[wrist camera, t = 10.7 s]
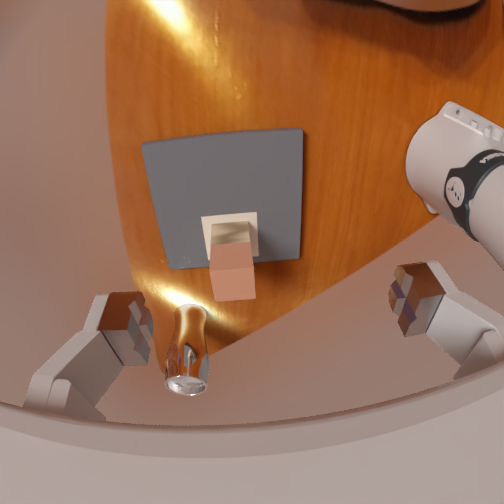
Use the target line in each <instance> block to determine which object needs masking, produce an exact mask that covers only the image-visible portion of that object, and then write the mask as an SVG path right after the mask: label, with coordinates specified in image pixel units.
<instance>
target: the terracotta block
mask: <svg viewBox="0 0 504 504" xmlns="http://www.w3.org/2000/svg"><path fill="white" fill-rule="evenodd" d="M209 271H210V277H211V283H212V288H213V293H214V299H215V302H218V301H231V300H243V299H254V298H256V297H255V281H254V266H253V258H252V249H251V242H240V243H229V244H217V245H211V249H210V269H209Z"/></svg>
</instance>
